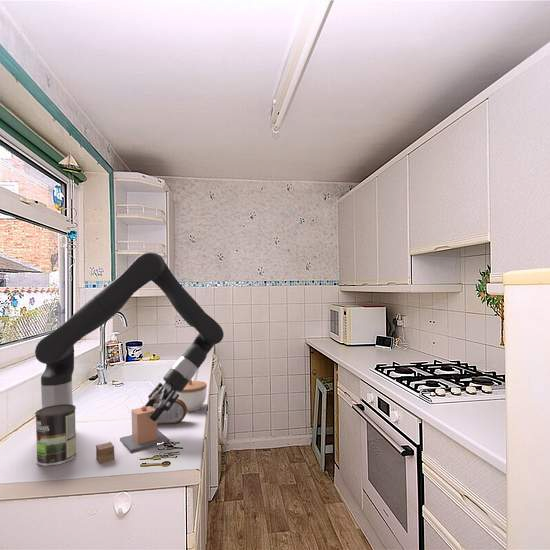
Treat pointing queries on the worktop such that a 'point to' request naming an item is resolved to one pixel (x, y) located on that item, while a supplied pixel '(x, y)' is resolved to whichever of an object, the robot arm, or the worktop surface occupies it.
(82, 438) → the worktop surface
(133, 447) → the plate
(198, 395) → the lidded bowl
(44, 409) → the coffee can
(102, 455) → the block
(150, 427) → the tan upright box
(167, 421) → the tin
